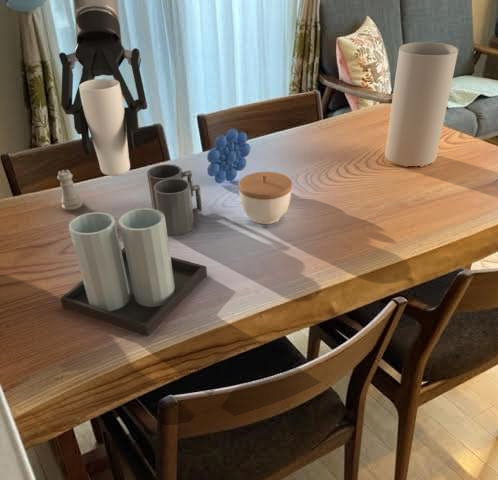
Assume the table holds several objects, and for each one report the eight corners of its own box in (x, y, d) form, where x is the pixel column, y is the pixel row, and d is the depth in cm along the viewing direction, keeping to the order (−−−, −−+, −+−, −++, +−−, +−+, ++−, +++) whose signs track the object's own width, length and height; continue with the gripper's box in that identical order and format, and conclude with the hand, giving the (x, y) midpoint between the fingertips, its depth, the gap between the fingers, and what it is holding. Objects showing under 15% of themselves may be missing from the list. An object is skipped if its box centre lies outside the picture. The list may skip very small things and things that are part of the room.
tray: (62, 307, 91) (59, 298, 89) (128, 253, 103) (127, 244, 102) (148, 336, 84) (146, 326, 83) (207, 275, 97) (206, 266, 96)
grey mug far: (162, 222, 112) (156, 181, 107) (147, 209, 117) (141, 170, 111) (202, 209, 116) (198, 169, 111) (186, 197, 121) (182, 158, 115)
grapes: (240, 168, 132) (238, 119, 125) (256, 177, 128) (255, 127, 120) (199, 180, 127) (195, 130, 120) (214, 191, 123) (210, 139, 115)
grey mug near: (169, 239, 107) (163, 197, 101) (153, 224, 112) (147, 184, 106) (210, 225, 111) (207, 184, 105) (194, 211, 116) (190, 172, 110)
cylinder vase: (440, 153, 136) (463, 44, 120) (429, 172, 128) (451, 58, 112) (392, 145, 141) (407, 40, 125) (378, 163, 132) (392, 52, 117)
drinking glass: (90, 171, 98) (70, 84, 88) (121, 160, 101) (106, 75, 92) (109, 182, 94) (91, 93, 84) (142, 170, 97) (128, 83, 88)
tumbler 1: (81, 307, 91) (58, 228, 81) (107, 285, 95) (88, 208, 86) (114, 318, 88) (95, 238, 79) (138, 295, 93) (123, 217, 83)
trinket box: (284, 202, 118) (285, 161, 112) (296, 226, 109) (297, 183, 104) (236, 207, 116) (234, 166, 110) (244, 232, 108) (242, 189, 102)
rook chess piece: (72, 213, 117) (63, 178, 111) (58, 208, 118) (48, 173, 113) (87, 204, 119) (79, 170, 114) (73, 200, 121) (64, 166, 116)
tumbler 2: (126, 302, 91) (109, 224, 82) (150, 281, 96) (136, 204, 86) (160, 313, 89) (147, 233, 79) (183, 291, 93) (173, 213, 84)
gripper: (156, 32, 98) (168, 153, 96) (46, 39, 96) (56, 162, 94) (152, 4, 91) (165, 135, 88) (32, 10, 89) (42, 144, 87)
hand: (109, 149), depth 91 cm, fingers closed on drinking glass, 7 cm apart
